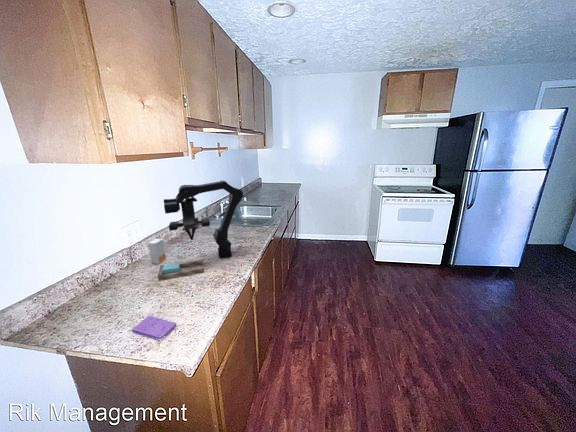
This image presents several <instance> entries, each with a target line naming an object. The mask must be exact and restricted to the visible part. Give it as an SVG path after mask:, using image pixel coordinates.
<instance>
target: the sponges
mask: <svg viewBox="0 0 576 432" xmlns="http://www.w3.org/2000/svg"><path fill="white" fill-rule="evenodd" d="M176 325H177V322H173V321H171V320H169V321H168V320H166V319H163V318H161V317H160V318H159V317H157V316H153V315H147V316H146V317H145V318H143V320H141V322H139V323H138V324H136V326H134V327H133V328H131V331H132V333H135V334H138V335H141V334H142V335H141V336H144V335H146V336H145V337H147V336H150V337H153V338H157V339H162V338H163V337H164V336H166V335H167V334H168V333H169V332H170V331H171V330H172V329H173V328H174V327H175V326H176ZM176 327H177V326H176ZM176 327H175V328H176ZM175 328H174V329H175ZM174 329H173V330H174ZM173 330H172V331H173ZM172 331H171V332H172ZM171 332H170V333H171ZM170 333H169V334H170ZM169 334H168V335H169ZM168 335H167V336H168ZM167 336H166V337H167ZM150 337H149V338H150ZM153 338H152V339H153Z"/></svg>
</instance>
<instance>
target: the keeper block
mask: <svg viewBox="0 0 576 432" xmlns="http://www.w3.org/2000/svg"><path fill="white" fill-rule="evenodd" d="M180 264H181V263H180V262H176V263H175V262H174V263H169V264H163V265H164V267H163V275H165V274H170V273H176V272H181V271H182V268H181V269H180Z"/></svg>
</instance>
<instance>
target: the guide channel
mask: <svg viewBox="0 0 576 432" xmlns="http://www.w3.org/2000/svg"><path fill="white" fill-rule="evenodd" d="M164 265H165V264H161V265H160V266H159V270H158V273H157V280H158V282H161V281H165V280H170V279H175V278H176V279H177V278H182V277H186V276H191V275H197V274H201V273H205V268H204V267H200V268H193V269H188V270H182V269H185V268H191V267H196V266H197V267H198V266H203V265H204V260H203V259H202V260H196V261H195V260H194V261H189V262H185V263H183V262H182V263H180V269H181V271H180V272H176V273H170V274H165V275H163V267H164Z"/></svg>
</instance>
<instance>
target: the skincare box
mask: <svg viewBox="0 0 576 432" xmlns="http://www.w3.org/2000/svg"><path fill="white" fill-rule="evenodd" d="M148 249H149V255H150V259H151V260H150V261H151V264H152V265H153V264H154V265H160V264H161V263H163V262H164V261H166V260H167V255H166V249H165V244H164V239H162V238H155V239H152V241H150V242H148Z"/></svg>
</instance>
